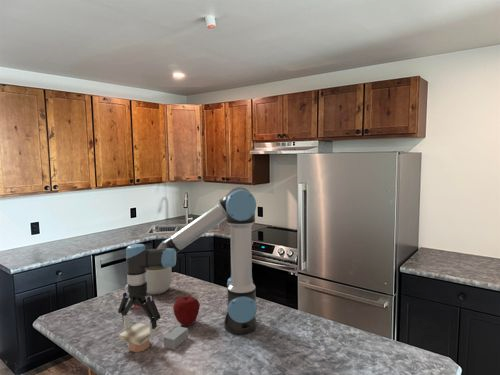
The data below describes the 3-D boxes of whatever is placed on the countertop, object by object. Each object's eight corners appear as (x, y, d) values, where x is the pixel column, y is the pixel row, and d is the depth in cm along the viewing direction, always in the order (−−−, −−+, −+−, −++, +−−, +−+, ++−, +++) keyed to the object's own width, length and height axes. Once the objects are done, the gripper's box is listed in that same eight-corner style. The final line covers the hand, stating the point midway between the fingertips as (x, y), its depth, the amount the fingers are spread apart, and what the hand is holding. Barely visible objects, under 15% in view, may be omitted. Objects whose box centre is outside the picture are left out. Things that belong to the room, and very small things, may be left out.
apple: (169, 327, 155) (168, 299, 154) (182, 316, 166) (181, 290, 165) (192, 331, 151) (191, 303, 150) (204, 320, 162) (203, 293, 161)
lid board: (158, 332, 142) (158, 327, 141) (140, 345, 132) (139, 340, 131) (138, 327, 146) (138, 322, 146) (118, 339, 136) (118, 334, 136)
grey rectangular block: (188, 337, 146) (187, 328, 146) (174, 349, 137) (173, 339, 137) (178, 335, 148) (178, 326, 148) (164, 346, 139) (163, 337, 139)
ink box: (145, 304, 179) (144, 283, 178) (140, 309, 174) (139, 286, 173) (130, 303, 181) (129, 282, 180) (125, 307, 176) (124, 285, 175)
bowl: (153, 343, 141) (153, 333, 141) (139, 353, 134) (139, 342, 134) (138, 339, 144) (138, 329, 144) (124, 349, 137) (124, 338, 137)
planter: (155, 299, 186) (154, 272, 185) (135, 293, 195) (134, 267, 194) (178, 289, 200) (177, 264, 199) (158, 283, 209) (157, 260, 208)
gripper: (168, 283, 135) (170, 334, 137) (121, 275, 146) (123, 323, 147) (155, 290, 129) (158, 343, 130) (107, 281, 139) (110, 331, 140)
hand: (139, 332), depth 139 cm, fingers open, 13 cm apart
